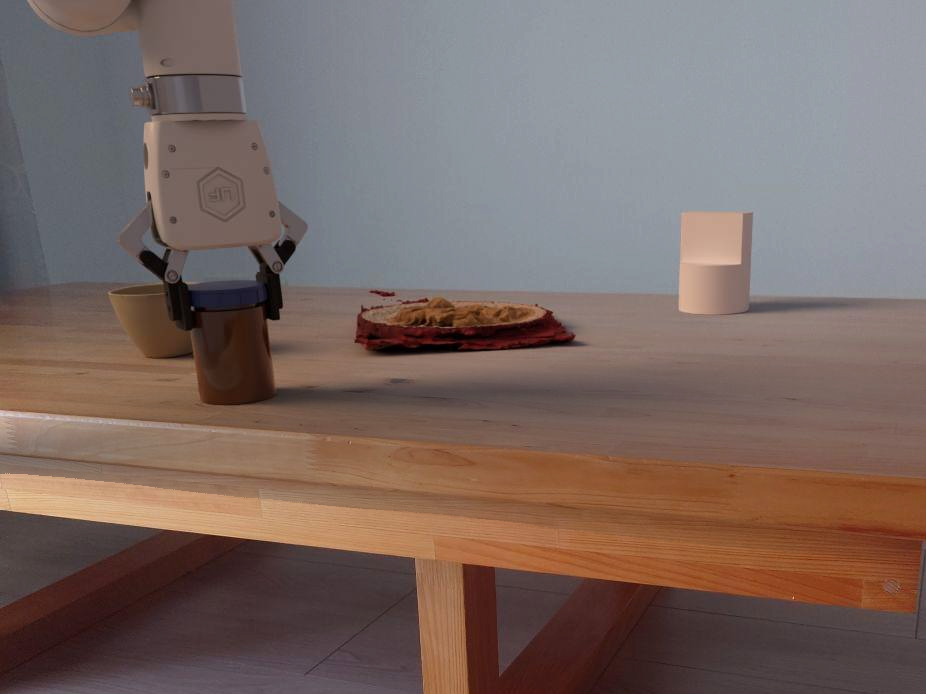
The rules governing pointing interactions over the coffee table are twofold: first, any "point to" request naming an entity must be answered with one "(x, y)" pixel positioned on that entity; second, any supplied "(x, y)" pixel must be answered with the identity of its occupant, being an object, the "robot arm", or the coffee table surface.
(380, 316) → the plate with food
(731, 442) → the coffee table surface
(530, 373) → the coffee table surface
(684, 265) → the base with upright slab
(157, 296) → the flower pot
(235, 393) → the jar
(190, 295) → the jar lid
